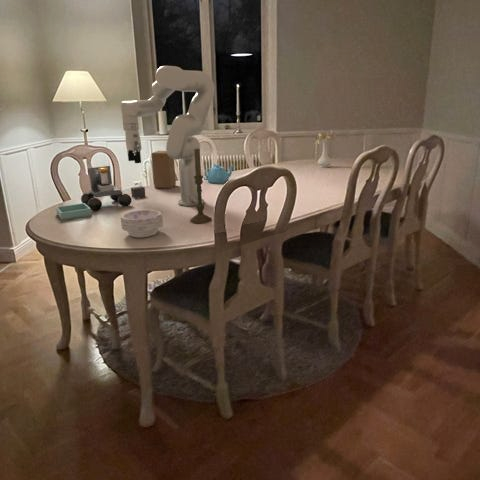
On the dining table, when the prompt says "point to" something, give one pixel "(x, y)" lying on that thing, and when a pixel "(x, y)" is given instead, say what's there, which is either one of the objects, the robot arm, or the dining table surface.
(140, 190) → the chock
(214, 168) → the teapot
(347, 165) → the dining table surface
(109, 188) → the trolley
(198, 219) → the candlestick holder
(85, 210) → the tray
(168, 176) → the wooden block
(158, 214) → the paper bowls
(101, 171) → the stop pin
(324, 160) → the flower vase
